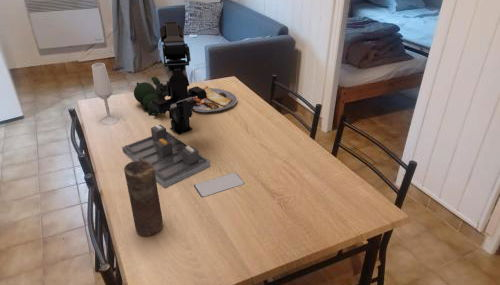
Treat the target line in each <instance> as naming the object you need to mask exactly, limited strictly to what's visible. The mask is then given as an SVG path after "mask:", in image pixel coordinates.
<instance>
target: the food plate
mask: <svg viewBox="0 0 500 285" xmlns="http://www.w3.org/2000/svg"><path fill="white" fill-rule="evenodd" d="M203 89H204V90H205V91H206V93H207V98H205V99H202V100H199V99H198V98H197V96H196V97H194V99H195V101H197V103H196V104H195V105H194V107H193V109H192V110H194V111H195V112H200V113H209V112H217V111H223V110H226V109H229V108H231V107H234V106H235V104H236V103H237V102H238V98H237V96H236V94H234V93H232V92H230V91H228V90H224V89H221V88H212V87H209V86H205V87H203ZM220 107H221V108H220Z"/></svg>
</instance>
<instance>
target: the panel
mask: <svg viewBox="0 0 500 285" xmlns="http://www.w3.org/2000/svg"><path fill="white" fill-rule="evenodd" d="M166 132H167V140H168V141H170V142H171V143H172V150H173V154H171V155H168V156H166V157H164V158H162V157H161V156H159V155H158V154H157V151H156V144H155V142H156V141H155V140H154V139H152V135H151V136H149V137H146V138H144V139H140V140H138V141H135V142H132V143H129V144H126V145H124V146H122V147H121V148H122V152H123V153H124V154H125V155H126V156H127V157H128V158H130V159H131V161H132V162H134V161H148V162H150V163H151V164H152V165H153V166H154V170H155V177H156V182H157V183H158V184H159V185H161V186H162V188H164V189H165V188H167V187H170V186H172V185H174V184H176V183H178V182H180V181H183V180H184V179H186V178H187V179H188V178H189V177H191V176H192V175H195V174H197V173H199V172H201V171H203V170H205V169H208V168H210V167H211V161H210V160H209V159H208V158H206V157H205V156H203V155H202V154H200V153H199V162H197V163H195V164H193V165H191V166H188V165H187V164H186V163H184V162H183V160H182V150H183V149H185V147H187V146H188V145H187V144H185V143H184V142H183V141H181V140H180V139H178V138H177V137H175V136H174V135H173V134H171V133H170V132H168V131H167V130H166Z"/></svg>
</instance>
